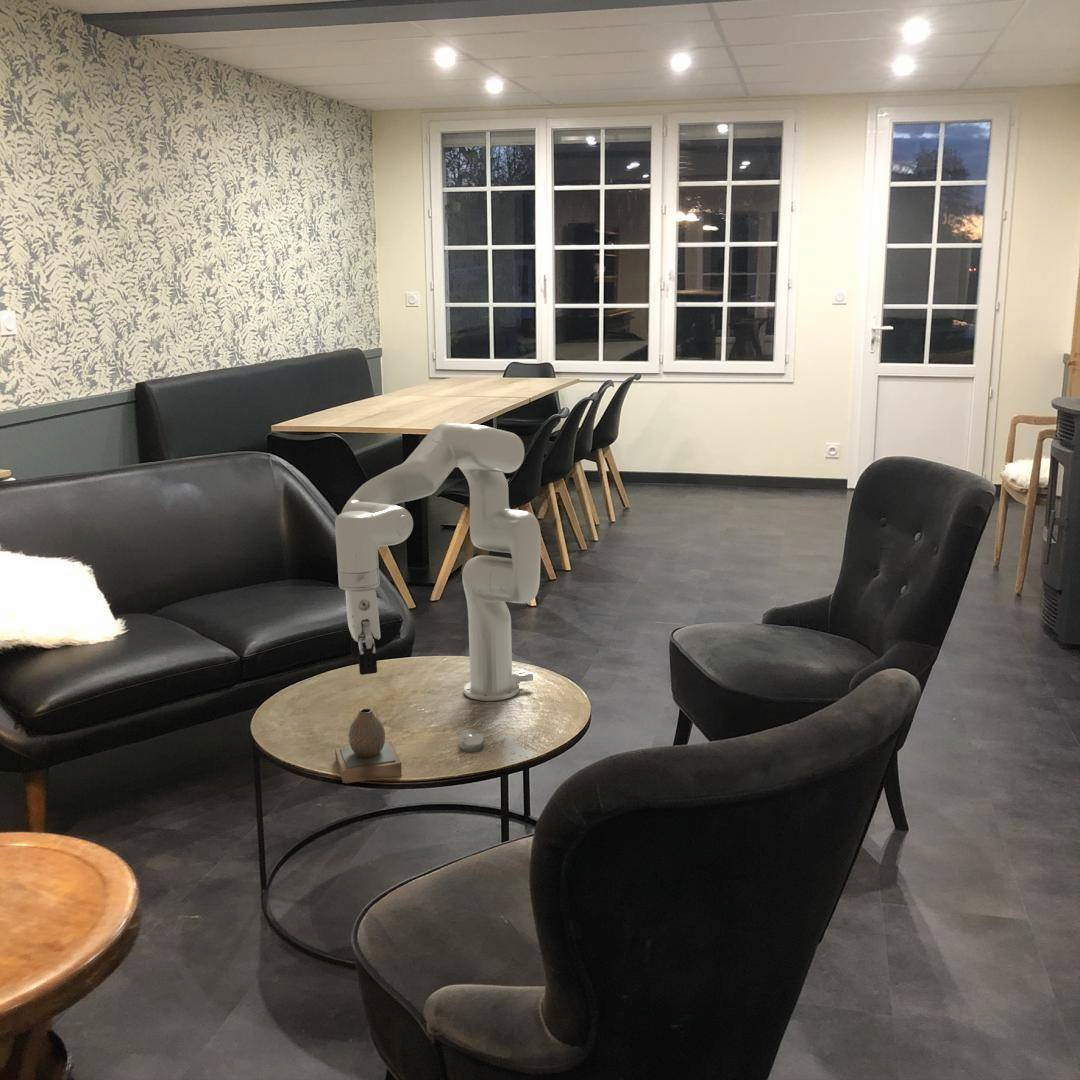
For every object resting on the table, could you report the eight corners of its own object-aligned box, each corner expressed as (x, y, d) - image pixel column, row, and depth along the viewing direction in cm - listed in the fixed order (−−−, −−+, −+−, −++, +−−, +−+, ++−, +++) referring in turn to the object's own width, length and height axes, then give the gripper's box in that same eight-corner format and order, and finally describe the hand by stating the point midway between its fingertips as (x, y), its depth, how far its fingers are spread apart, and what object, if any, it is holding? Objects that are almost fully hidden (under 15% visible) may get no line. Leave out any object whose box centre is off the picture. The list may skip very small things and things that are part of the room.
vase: (391, 748, 216) (389, 705, 214) (377, 762, 210) (374, 718, 208) (359, 744, 218) (356, 702, 216) (343, 759, 212) (341, 715, 210)
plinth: (391, 752, 221) (390, 739, 220) (401, 775, 211) (401, 761, 210) (335, 760, 218) (334, 747, 217) (343, 783, 207) (342, 769, 207)
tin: (480, 742, 226) (479, 728, 225) (486, 751, 221) (486, 737, 220) (456, 745, 224) (455, 731, 223) (461, 755, 219) (461, 740, 219)
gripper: (387, 587, 200) (392, 677, 204) (371, 565, 216) (376, 648, 220) (345, 592, 198) (351, 682, 202) (332, 568, 214) (338, 653, 218)
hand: (364, 665), depth 211 cm, fingers open, 9 cm apart
